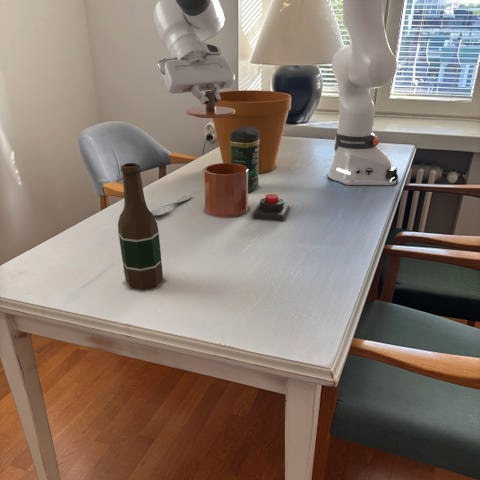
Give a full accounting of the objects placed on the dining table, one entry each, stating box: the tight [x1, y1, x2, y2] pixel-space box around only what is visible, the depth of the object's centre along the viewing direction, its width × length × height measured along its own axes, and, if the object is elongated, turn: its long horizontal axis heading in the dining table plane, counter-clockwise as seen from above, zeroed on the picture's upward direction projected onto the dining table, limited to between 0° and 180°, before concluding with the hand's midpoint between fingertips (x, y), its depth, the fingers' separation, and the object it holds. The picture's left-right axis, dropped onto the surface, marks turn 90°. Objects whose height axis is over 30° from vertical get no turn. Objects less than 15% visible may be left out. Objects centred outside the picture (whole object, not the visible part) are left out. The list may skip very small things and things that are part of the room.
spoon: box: [150, 196, 191, 217], centre depth 138 cm, size 4×21×2 cm, turn 155°
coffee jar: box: [230, 126, 260, 193], centre depth 148 cm, size 10×8×19 cm
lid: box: [185, 90, 235, 119], centre depth 127 cm, size 13×13×6 cm
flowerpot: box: [212, 89, 292, 174], centre depth 169 cm, size 28×28×24 cm
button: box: [265, 193, 280, 204], centre depth 133 cm, size 4×4×2 cm
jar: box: [202, 162, 249, 218], centre depth 134 cm, size 12×12×12 cm
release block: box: [253, 197, 290, 222], centre depth 134 cm, size 11×8×4 cm
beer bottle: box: [117, 162, 164, 291], centre depth 94 cm, size 8×8×24 cm
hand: (211, 102), depth 127 cm, fingers closed on lid, 2 cm apart
